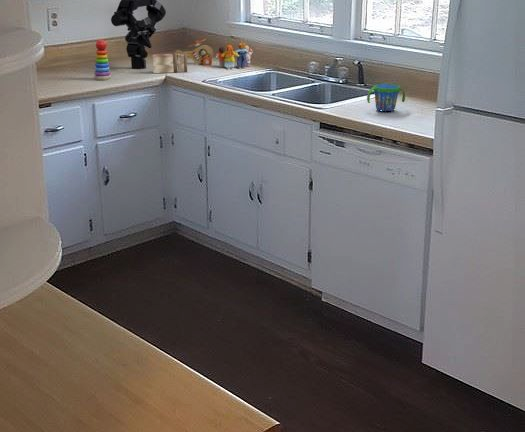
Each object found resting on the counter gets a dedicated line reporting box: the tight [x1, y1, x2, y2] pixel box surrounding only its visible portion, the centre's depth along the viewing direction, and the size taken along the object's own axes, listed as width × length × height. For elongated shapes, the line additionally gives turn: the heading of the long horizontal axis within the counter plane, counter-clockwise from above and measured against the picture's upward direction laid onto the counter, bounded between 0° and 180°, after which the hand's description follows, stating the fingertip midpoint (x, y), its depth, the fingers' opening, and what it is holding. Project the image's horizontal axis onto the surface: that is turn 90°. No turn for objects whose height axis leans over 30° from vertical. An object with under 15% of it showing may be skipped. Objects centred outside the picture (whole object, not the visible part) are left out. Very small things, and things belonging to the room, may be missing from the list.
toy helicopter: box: [173, 38, 214, 66], centre depth 423 cm, size 8×21×14 cm, turn 97°
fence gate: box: [151, 52, 179, 74], centre depth 401 cm, size 12×2×9 cm, turn 105°
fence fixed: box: [177, 53, 188, 73], centre depth 403 cm, size 4×2×9 cm, turn 105°
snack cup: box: [366, 83, 406, 111], centre depth 330 cm, size 16×10×10 cm
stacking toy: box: [93, 39, 112, 81], centre depth 388 cm, size 8×8×19 cm
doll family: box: [215, 42, 254, 71], centre depth 415 cm, size 21×10×13 cm, turn 115°
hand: (150, 47), depth 399 cm, fingers closed
